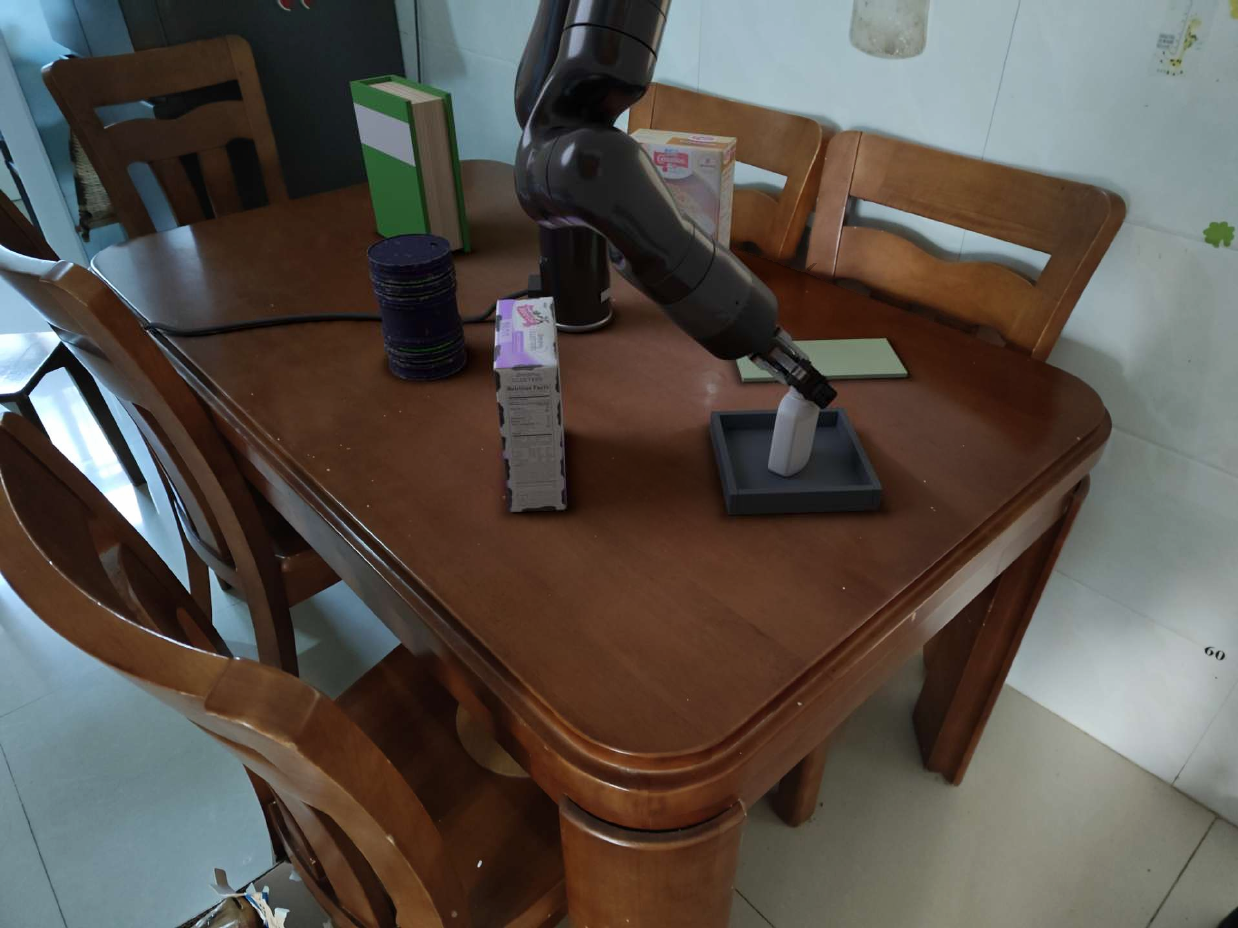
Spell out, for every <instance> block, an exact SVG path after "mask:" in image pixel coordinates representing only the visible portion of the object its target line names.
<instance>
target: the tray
mask: <svg viewBox="0 0 1238 928" xmlns="http://www.w3.org/2000/svg"><path fill="white" fill-rule="evenodd" d="M777 412H778V408H773V409H744V410H743V409H742V410H741V409H740V410H718V411H717V410H713V411H710V420H709V434H710V438H711V443H712V448H713V453H714V456H715V461H716V466H717V470H718V474H719V478H720V484H721V487H722V493H723V497H724V501H725V506H726V511H727V515H728V516H741V515H743V516H745V515H746V516H747V515H748V516H749V515H773V514H774V515H775V514H776V515H777V514H802V513H803V514H804V513H832V512H833V513H835V512H836V513H838V512H865V511H866V512H867V511H879V509H880V505H881V500H882V497H883V490H884V489H883V487H882V484H881V482H880V480H879V478H878V476H877V474H876V471H875V469H874V467H873V465H872V463H871V461H870V459H869V457H868V455H867V453H866V451H865V448H864V447H863V444H862V443H861V440H860V438H859V436H858V434H857V432H856V430H855V427H854V426H853V424H852V423H853V422H852V421H851V420H850V417H849V415H848V413H847V411H846V409H845V407H844V406H839V407H826V408H825V409H819V414H818V419H817V424H816V429H815V434H814V439H813V443H812V448H811V453H810V457H809V460H808V462H807V464H806V465H805V466H804V468H803V469H801V470H800V471H799V472H797V473H795V474H793V475H791V476H788V477H784V476H781V475H779V474H777V473H774V472H772V471H771V470H769V468H768V463H769V457H770V451H771V445H772V439H773V434H774V428H775V422H776V417H777Z"/></svg>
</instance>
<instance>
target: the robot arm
mask: <svg viewBox="0 0 1238 928" xmlns="http://www.w3.org/2000/svg"><path fill="white" fill-rule="evenodd" d="M672 3H673V0H539V4H538V8H537V12H536V15H535V19H534V21H533V24H532V27H531V30H530V32H529V36H528V39H527V41H526V44H525V47H524V49H523V53H522V55H521V58H520V61H519V64H518V67H517V70H516V76H515V81H514V91H513V104H514V113H515V117H516V120H517V123H518V125H519V128H520V129H521V131H522V133H521V135H520V139H519V142H518V145H517V149H516V153H515V159H514V166H513V167H514V168H513V181H514V191H515V194H516V197H517V200H518V203H519V205H520V207H521V209H522V210H523V211H524V213H525V214H526V215H527V216H528V218H530V219H531V220H532V221H534V222H535V223H537V230H538V232H537V233H538V247H539V260H538V265H539V266H538V267H539V274H537V273H536V274H529V275H528V281H527V283H528V284H527V288H525V289H523V290H520V291H517V292H514V293H511V294H508V295H506V296H503V297H502V298H500V299H499V300H512V299H521V298H523V297H525V296H527V298H545V297H553V301H554V310H555V320H556V329H557V331H560V332H566V333H585V332H591V331H596V330H599V329H601V328H603V327H605V326H607V325H608V324H609V323H610V322H611V321H612V319H613V307H612V285H611V279H612V278H611V265H612V267H613V268H614V269H615V270H616V272H617V273H618V274H619V275H620V276H621V277H622V278H623V279H624V280H625V281H626V282H628V283H629V285H631V286H632V287H634V288H635V290H637V291H639V292H640V293H641V294H642V295H644V296H645V297H646V298H647V299H648V300H650V301H651V302H652V303H653V304H654V305H655V306H656V307H657V308H658V310H660V312H661V313H662V314H663V315H664V316H665V317H666V318H667V319H668V320H669V321H670V322H671V323H673V324H674V325H675V326H677V328H679V329H680V330H681V331H682V332H684V333H685V334H686V335H687V336H689V337H690V338H691V339H692V340H693V341H694V342H696V343H697V344H699V346H701V347H702V348H703V349H704V350H705V351H707V352H708V353H709V354H710V355H712V356H713V357H714V358H717V359H719V360H720V361H721V360H722V361H727V362H728V361H730V362H731V361H736V360H737V359H740V358H743V357H745V356H746V357H748V359H749V360H750V361H751V362H752V363H754V364H755V365H756V366H757V367H758V368H759V369H761V370H766V371H767V372H768V373H770V374H771V375H772V376H773V377H774V378H775V379H777V380H778V381H777V382H779V383H780V384H781V385H782V386H789V388H790V387H791V386H793V387H794V388H795V389H796V392H798V393H799V394H800V393H801V394H802V395H803V398H804V399H805V400H809V401H810V402H811V401H812V402H813V403H815V404H816V405H817V406H818V407H819V408H820V409H825V408H828V406H830V404H831V403H832V402H833V401H834V400H835V399H837V397H838V391H837V390H836V389H834V387H832V386H831V385H830V384H829V383H830V381H829V379H827V377H826V376H825V375H822V374H821V373H820V372H819V371H818V370H817V369H816V368H815V367H814V366H812V365H811V363H812V362H811V361H809V357H808V355H806V354H805V353H804V352H803V351H802V350H801V349H800V348H799V347H798V346H796V345H795V344H794V343H793V342H792V341H793V340H792V336H791V335H790V334H789V333H788V332H787V331H786V330H784V329H783V328H782V327H781V326H780V325H778V324H776V323H777V319H778V314H779V305H778V300H777V297H776V295H775V293H774V292H773V291H772V290H771V288H769V287H768V286H767V285H766V284H765V283H764V282H763V281H762V280H761V279H760V278H759V277H758V276H757V275H756V274H755V273H754V272H753V271H752V270H750V268H749V267H748V266H746V265H745V264H744V263H743V262H742V261H741V259H739V257H737V256H736V255H735V254H734V253H733V252H732V251H731V250H730V248H729V249H727V248H726V247H725V246H724V245H722V244H721V243H719V242H718V241H716V240H715V239H713V238H712V237H711V236H710V235H709V234H708V233H707V232H706V231H705V230H704V229H703V228H702V227H700V226H699V225H698V224H697V223H696V222H695V221H694V220H693V219H692V218H691V217H690V216H689V215H688V214H687V213H686V212H685V211H683V210H682V209H681V208H680V207H679V205H678V204H677V202H676V199H675V197H674V195H673V193H672V191H671V190H670V188H669V186H668V185H667V183H666V181H665V180H664V178H663V176H662V175H661V173H660V171H659V170H658V168H657V166H656V165H655V163H654V161H653V160H652V158H651V157H650V155H649V154H648V153H647V151H646V150H645V149H644V148H643V147H642V146H641V145H640V144H639V143H638V142H637V141H636V140H635V139H634V138H632V137H631V136H630V135H631V134H629V133H627V132H625V131H624V130H622V129H621V128H620V127H616V126H615V124H616V122H617V120H618V119H619V117H620V116H621V115H622V114H623V113H624V112H626V111H627V110H629V109H630V108H632V107H633V106H635V105H636V104H637V103H639V102H640V101H641V100H642V99H644V97H645V96H646V95H647V93H648V92H649V89H650V87H651V84H652V81H653V78H654V75H655V71H656V68H657V63H658V60H659V55H660V52H661V47H662V44H663V39H664V35H665V31H666V26H667V23H668V19H669V15H670V11H671V6H672ZM497 301H498V300H496V301H495V302H494V303H493V304H492V305H491V306H490V307H489V308H488V309H487V310H486V311H485V312H484V313H482V314H480V315H477V316H473V317H468V318H461V319H462V321H463V325H468V324H475V323H479V322H482V321H484V320H487V319H489V318H490V317H491V316H492V315H493V313H494V312H495V311H496V310H497ZM324 319H325V320H326V319H364V320H366V319H367V320H381V321H382V316H381V313H376V312H374V313H373V312H318V313H316V312H315V313H302V314H291V315H281V316H273V317H265V318H257V319H249V320H242V321H235V322H228V323H223V324H217V325H211V326H210V325H209V326H203V327H193V328H179V327H174V326H170V325H166V324H163V323H160V322H154V321H153V322H152V321H151V322H148V323H147V322H146V323H145V324H143V325H141V327H143V328H144V329H145V330H146V332H147V331H149V330H150V329H156V330H160V331H164V332H167V333H170V334H176V335H199V334H207V333H215V332H220V331H221V332H222V331H226V330H233V329H238V328H245V327H246V328H247V327H252V326H253V327H254V326H261V325H268V324H269V325H270V324H276V323H277V324H278V323H285V322H297V321H309V320H324ZM790 348H791V349H792V350H793V351H794V353H795V355H794V354H793V352H792V351H791V349H790ZM775 370H777V371H778V372H776V371H775Z"/></svg>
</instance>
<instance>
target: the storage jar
mask: <svg viewBox="0 0 1238 928" xmlns="http://www.w3.org/2000/svg"><path fill="white" fill-rule="evenodd" d="M452 252H453V251H452V250H451V244H450V242H449V241H448V240H447V239H446V238H444V237H441V236H438V235H433V234H424V233H414V234H403V235H397V236H392V237H389V238H386V237H385V238H383V239H380V240H378V241H376V242H374V243H372V244H371V245H370V246H369V247H368V248H367V251H366V255H367V261H368V264H369V265H368V266H369V271H370V273H369V277H370V282H371V285H372V288H373V291H372V293H373V295H374V297H375V300H376V301H377V302H378V305H379V311H380V314H381V316H382V320H381V321H382V324H381V337H382V338H383V345H384V350H385V352H386V355H387V358H388V360H389V361H388V365H389V369H390V371H391V372H392V373H393V374H394V375H395V376H397V377H399V378H402V379H404V380H410V381H419V382H420V381H431V380H433V381H434V380H438V379H443V378H445V377H448V376H451V375H453V374H454V373H456V372H458V371H459V370H461V369H462V368H463V367H464V366H465V364H466V362H467V352H466V350H465V349H466V344H465V341H466V337H465V331H464V330H465V329H464V324H463V321H462V319H463V318H462V316H461V314H459V307H458V299H457V291H458V280H457V272H456V265H455V262H454V258H453V255H452Z"/></svg>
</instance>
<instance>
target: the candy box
mask: <svg viewBox="0 0 1238 928" xmlns="http://www.w3.org/2000/svg"><path fill="white" fill-rule="evenodd" d="M496 301H497V309H496V310H495V311H496V313H495V330H494V351H493V376H494V385H495V393H496V403H497V409H498V410H497V411H498V421H499V428H500V437H501V446H502V447H501V448H502V455H503V463H504V473H505V481H506V487H507V488H506V489H507V490H506V491H507V499H508V507H509V513H524V512H543V511H544V512H545V511H546V512H548V511H565V509H566V508H567V506H568V505H567V485H566V484H567V483H566V481H567V480H566V479H567V478H566V453H565V432H564V431H565V430H564V412H563V396H562V381H561V369H560V367H561V366H560V353H559V343H558V341H559V340H558V330H557V329H556V320H555V310H554V301H553V297H545V298H528V297H526V298H517V299H512V300H500V299H498V300H496Z"/></svg>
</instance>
